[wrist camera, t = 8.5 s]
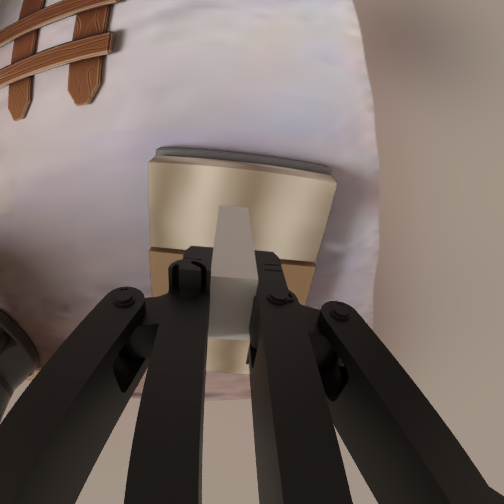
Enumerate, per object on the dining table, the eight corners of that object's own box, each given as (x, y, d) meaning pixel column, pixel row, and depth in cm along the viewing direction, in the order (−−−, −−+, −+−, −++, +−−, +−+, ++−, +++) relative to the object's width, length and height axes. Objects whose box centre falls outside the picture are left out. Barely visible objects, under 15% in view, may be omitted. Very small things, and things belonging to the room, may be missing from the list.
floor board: (166, 343, 32) (161, 365, 29) (160, 147, 21) (148, 153, 18) (278, 353, 34) (281, 374, 31) (325, 165, 23) (339, 175, 20)
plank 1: (156, 234, 24) (150, 246, 22) (156, 155, 20) (148, 162, 18) (310, 249, 25) (315, 262, 23) (329, 174, 21) (337, 183, 19)
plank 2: (164, 353, 30) (161, 365, 29) (160, 307, 27) (156, 319, 26) (279, 362, 32) (281, 375, 30) (291, 318, 29) (295, 330, 27)
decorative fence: (-20, 31, 11) (-29, 136, 18) (-28, 31, 9) (-38, 140, 16) (133, -36, 12) (113, 101, 20) (127, -42, 11) (105, 101, 18)
